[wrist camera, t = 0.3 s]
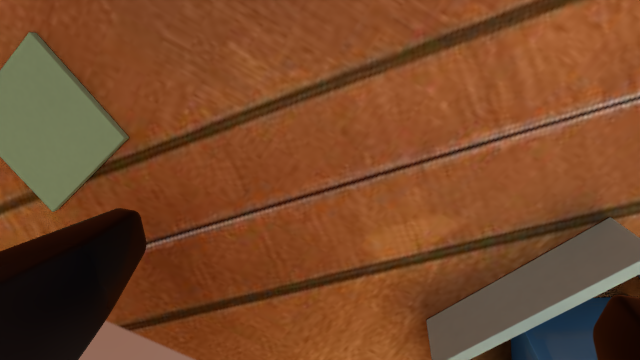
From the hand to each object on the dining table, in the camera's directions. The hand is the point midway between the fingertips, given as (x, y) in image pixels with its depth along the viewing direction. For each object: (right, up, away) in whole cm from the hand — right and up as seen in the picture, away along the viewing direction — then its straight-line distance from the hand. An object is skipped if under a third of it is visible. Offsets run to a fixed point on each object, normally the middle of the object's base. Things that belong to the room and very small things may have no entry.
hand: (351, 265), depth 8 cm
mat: (-18, +5, +17) cm, 25 cm away
